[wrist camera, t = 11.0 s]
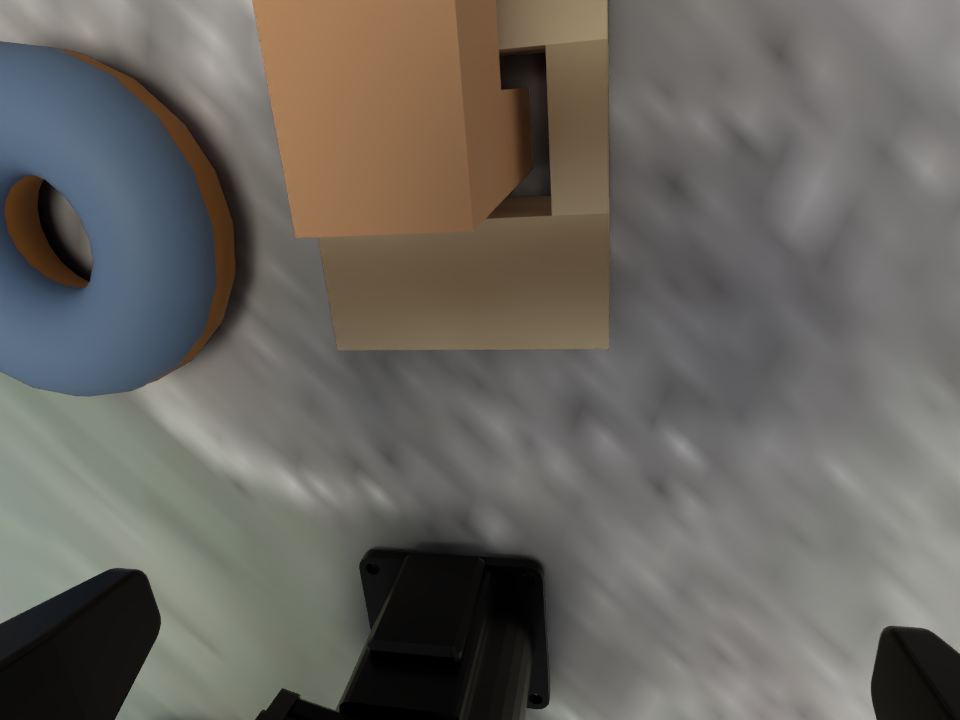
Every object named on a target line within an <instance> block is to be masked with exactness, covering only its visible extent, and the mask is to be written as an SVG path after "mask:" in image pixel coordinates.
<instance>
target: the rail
mask: <svg viewBox="0 0 960 720" xmlns="http://www.w3.org/2000/svg"><path fill="white" fill-rule="evenodd" d="M496 12H497V29H498V46H499V56H509V55H520V54H530V53H540V52H546V74H547V100H548V126H549V152H550V178H551V196H532V197H513V198H505V199H504V200H503V201H502V202H501V203H500V204H499V205H498V206H497V207H496V208H495V209H494V210H493V211H492V212H491V213H490V214H489V216H488V217H487V218H486V219H485V220H484V221H483V222H482V223H481V224H480V225H479V226H478V227H477V228H476V229H475V230H474V231H470V232H444V233H418V234H391V235H365V236H339V237H318V242H319V247H320V253H321V259H322V265H323V270H324V276H325V282H326V288H327V293H328V299H329V305H330V311H331V316H332V322H333V328H334V334H335V340H336V345H337V350H546V349H609V337H610V152H609V0H496Z"/></svg>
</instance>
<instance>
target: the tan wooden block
mask: <svg viewBox="0 0 960 720" xmlns="http://www.w3.org/2000/svg"><path fill="white" fill-rule="evenodd" d="M252 2H253V7H254V13H255V18H256V24H257V29H258V35H259V40H260V46H261V51H262V57H263V62H264V68H265V73H266V78H267V84H268V89H269V95H270V100H271V106H272V111H273V117H274V122H275V128H276V133H277V139H278V144H279V150H280V155H281V161H282V166H283V172H284V177H285V183H286V188H287V193H288V199H289V204H290V210H291V215H292V221H293V226H294V232H295V237H296V238H312V237H339V236H365V235H391V234H418V233H444V232H470V231H474V230H475V229H476V228H477V227H478V226H479V225H480V224H481V223H482V222H483V221H484V220H485V219H486V218H487V217H488V216H489V214H490V213H491V212H492V211H493V210H494V209H495V208H496V207H497V206H498V205H499V204H500V203H501V202H502V201H503V200H504V199H505V198H506V197H507V196H508V195H509V193H510V192H511V191H512V190H513V189H514V188H515V187H516V186H517V185H518V184H519V183H520V182H521V181H522V180H523V179H524V178H525V177H526V176H527V175H528V174H529V172H530V171H531V170H532V169H533V160H532V137H531V115H530V92H529V88H519V89H507V90H501V80H500V63H499V46H498V29H497V12H496V0H252Z"/></svg>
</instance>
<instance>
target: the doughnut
mask: <svg viewBox="0 0 960 720" xmlns="http://www.w3.org/2000/svg"><path fill="white" fill-rule="evenodd" d="M44 179H45V180H46V181H47V182H49V183H50V184H51V185H52V186H53V187H54V188H55V189H57V190H58V191H59V192H60V193H61V194H62V195H64V196H65V197H66V199H67V200H68V202H69V203H70V204H71V206H72V207H73V208H74V210H75V211H76V213H77V214H78V215H79V217H80V218H81V221H82V223H83V225H84V228H85V230H86V233H87V235H88V237H89V240H90V245H91V252H92V259H93V267H92V273H91V279H90V282H89V281H87V280H85V279H83V278H81V277H79V276H77V275H76V274H75V273H74V272H72V271H71V270H70V269H69V268H68V267H67V266H65V265H64V264H63V263H62V262H61V261H60V259H59V258H58V257H57V255H56V254H55V253H54V251H53V250H52V249H51V247H50V246H49V243H48V241H47V239H46V237H45V234H44V232H43V230H42V228H41V225H40V220H39V214H38V208H37V204H38V196H39V188H40V186H41V184H42V182H43V180H44ZM235 272H236V266H235V247H234V228H233V221H232V218H231V215H230V212H229V209H228V206H227V203H226V200H225V197H224V194H223V191H222V188H221V185H220V182H219V179H218V176H217V173H216V171H215V170H214V168H213V167H212V165H211V164H210V162H209V161H208V159H207V158H206V156H205V155H204V153H203V152H202V150H201V148H200V147H199V145H198V144H197V142H196V141H195V139H194V138H193V136H192V135H191V133H190V132H189V130H188V129H187V127H186V126H185V124H183V123H182V122H181V121H180V120H179V119H178V118H177V117H176V116H175V115H174V114H173V113H171V112H170V111H169V110H168V109H167V108H166V107H165V106H164V105H163V104H162V103H160V102H159V101H158V100H157V99H156V98H155V97H154V96H153V95H152V94H151V93H149V92H148V91H147V90H146V89H145V88H144V87H143V86H142V85H141V84H139V83H138V82H137V81H136V80H135V79H133V78H131V77H129V76H127V75H125V74H123V73H121V72H119V71H117V70H115V69H113V68H110V67H108V66H106V65H104V64H102V63H100V62H98V61H96V60H94V59H92V58H90V57H88V56H86V55H84V54H80V53H77V52H73V51H69V50H61V49H55V48H51V47H44V46H35V45H27V44H18V43H9V42H1V41H0V372H2V373H4V374H6V375H8V376H10V377H12V378H14V379H16V380H19V381H21V382H23V383H25V384H27V385H29V386H31V387H33V388H38V389H43V390H48V391H53V392H58V393H63V394H68V395H73V396H97V395H104V394H112V393H120V392H127V391H132V390H135V389H137V388H140V387H143V386H145V385H146V384H149V383H151V382H154V381H156V380H158V379H160V378H162V377H164V376H165V375H167V374H169V373H171V372H172V371H174V370H176V369H178V368H179V367H181V366H183V365H185V364H186V363H188V362H190V361H191V360H192V359H193V358H194V357H195V356H196V355H197V354H198V353H199V352H200V350H201V349H202V348H203V346H204V345H205V344H206V342H207V341H208V340H209V338H210V337H211V336H212V334H213V333H214V332H215V330H216V329H217V328H218V326H219V325H220V324H221V322H222V321H223V318H224V315H225V311H226V307H227V304H228V300H229V297H230V293H231V289H232V286H233V282H234V278H235Z"/></svg>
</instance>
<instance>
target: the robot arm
mask: <svg viewBox="0 0 960 720" xmlns="http://www.w3.org/2000/svg"><path fill="white" fill-rule="evenodd" d="M371 563H373V564H376V565H377V566H378V567H374V566H373V565H372V564H371ZM359 569H360V574H361V579H362V585H363V590H364V596H365V601H366V607H367V612H368V617H369V623H370V628H371V633H370V635H369V637H368V639H367V642H366V644H365V646H364V648H363V650H362V653H361V655H360V657H359V659H358V662H357V664H356V666H355V668H354V671H353V673H352V675H351V677H350V680H349V682H348V684H347V686H346V688H345V691H344V693H343V695H342V697H341V700H340V702H339V704H338V706H337V709H336V711H335V710H332V709H329V708H326V707H323V706H320V705H318V704H315V703H312V702H309V701H306V700H303V699H301V698H300V694H297V693H294V692H291V691H289V690H286V689H283V688H282V689H281V691H280V692H279V693H278V695H277V696H276V698H275V699H274V700H273V702H272V703H271V705H270V706H269V707H268V709H267V710H266V711H265V710H262V711H261V712H260V714H259V715H258V716H257V718H256V719H255V720H525V713H526V708H531V709H543V708H545V707H546V706H547V705H548V704H549V699H550V676H549V657H548V638H547V620H546V601H545V582H544V571H543V568H542V567H541V565H540V564H539V563H537V562H535V561H532V560H526V559H510V558H493V557H477V556H461V555H445V554H429V553H413V552H396V551H380V550H371V551H368V552H366V553H365V555H364V557H363V558H362V560H361V562H360V566H359ZM527 573H528V574H531V575H533V576H534V577H531V578H529V577H526V576H525V575H523V574H527ZM160 625H161V617H160V613H159V610H158V607H157V604H156V601H155V598H154V595H153V592H152V589H151V586H150V583H149V580H148V578H147V576H146V574H144V573H143V572H142V571H140V570H137V569H124V568H113V569H109V570H107V571H105V572H103V573H101V574H99V575H97V576H95V577H93V578H91V579H89V580H87V581H85V582H83V583H81V584H79V585H77V586H75V587H73V588H71V589H69V590H67V591H65V592H63V593H61V594H59V595H57V596H55V597H53V598H51V599H49V600H47V601H45V602H43V603H41V604H39V605H37V606H35V607H33V608H31V609H29V610H27V611H25V612H23V613H21V614H19V615H17V616H15V617H13V618H11V619H9V620H7V621H5V622H3V623H1V624H0V720H115V718H116V716H117V714H118V712H119V710H120V708H121V706H122V704H123V702H124V700H125V698H126V697H127V695H128V693H129V691H130V689H131V687H132V685H133V683H134V681H135V679H136V677H137V675H138V673H139V671H140V669H141V667H142V665H143V664H144V662H145V660H146V658H147V656H148V654H149V652H150V650H151V648H152V646H153V644H154V642H155V640H156V638H157V636H158V634H159V630H160ZM535 694H537V695H535ZM871 696H872V703H873V707H874V711H875V715H876V719H877V720H960V653H958V652H957V651H956V650H955V649H953V648H952V647H951V646H950V645H948V644H947V643H946V642H945V641H943V640H942V639H941V638H940V637H938V636H937V635H936V634H934V633H933V632H931V631H929V630H927V629H923V628H914V627H901V626H888V627H886V628H884V629H883V631H882V633H881V635H880V639H879V644H878V649H877V654H876V659H875V665H874V670H873V675H872V680H871Z"/></svg>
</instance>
